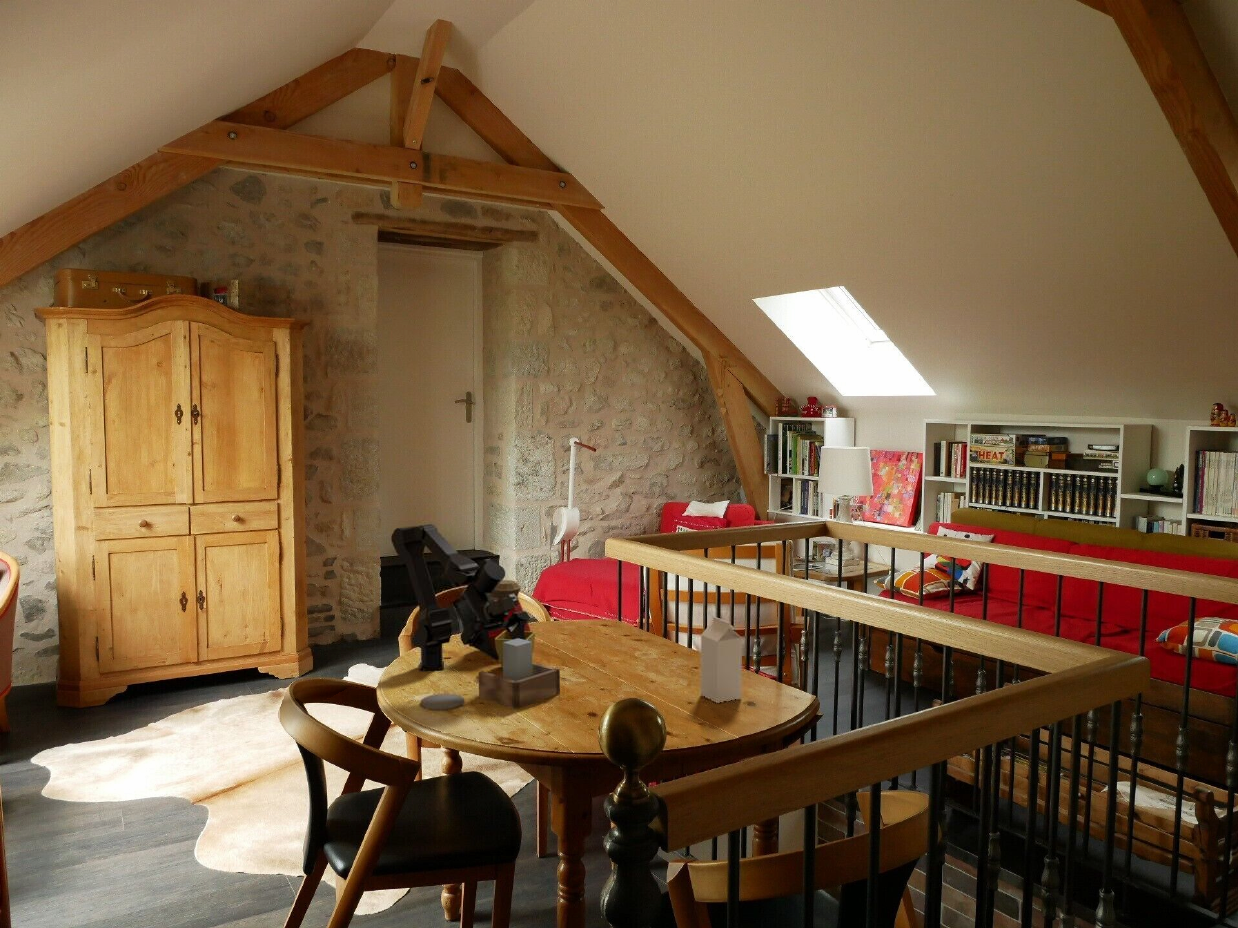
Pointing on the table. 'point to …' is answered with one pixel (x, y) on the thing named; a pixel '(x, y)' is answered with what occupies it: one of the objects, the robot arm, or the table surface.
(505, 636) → the flower pot
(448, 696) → the mat
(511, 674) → the block
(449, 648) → the table surface
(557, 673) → the crate
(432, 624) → the robot arm
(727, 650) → the milk carton
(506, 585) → the bottle
